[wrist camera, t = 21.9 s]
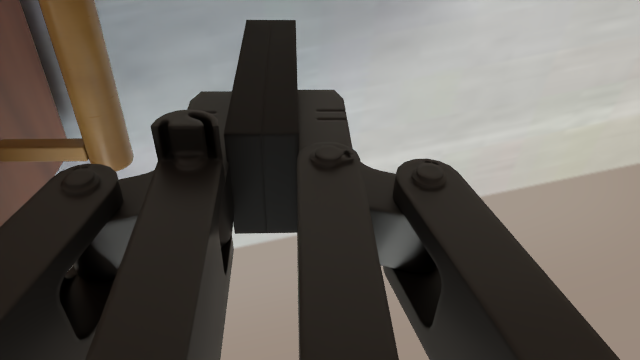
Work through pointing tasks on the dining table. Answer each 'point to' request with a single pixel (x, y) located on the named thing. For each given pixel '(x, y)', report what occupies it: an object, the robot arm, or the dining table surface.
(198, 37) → the dining table surface
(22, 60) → the drawer
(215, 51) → the dining table surface
